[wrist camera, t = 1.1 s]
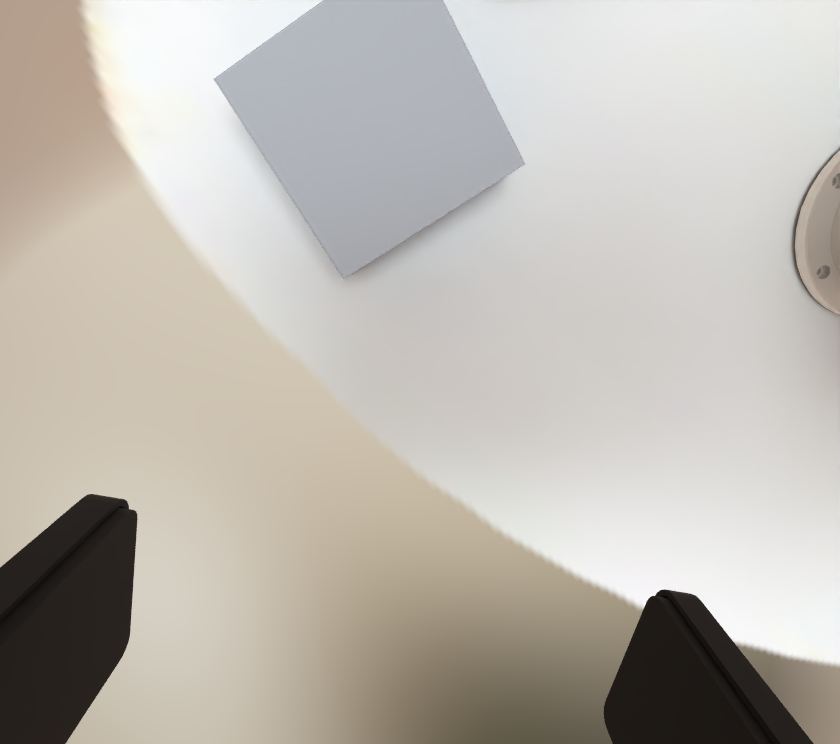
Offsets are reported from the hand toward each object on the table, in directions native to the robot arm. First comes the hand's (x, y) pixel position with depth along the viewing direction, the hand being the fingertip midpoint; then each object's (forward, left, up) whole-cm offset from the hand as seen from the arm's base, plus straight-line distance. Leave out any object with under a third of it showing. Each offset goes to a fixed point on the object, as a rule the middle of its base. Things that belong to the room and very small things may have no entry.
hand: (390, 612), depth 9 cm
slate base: (-6, -10, -25) cm, 28 cm away
